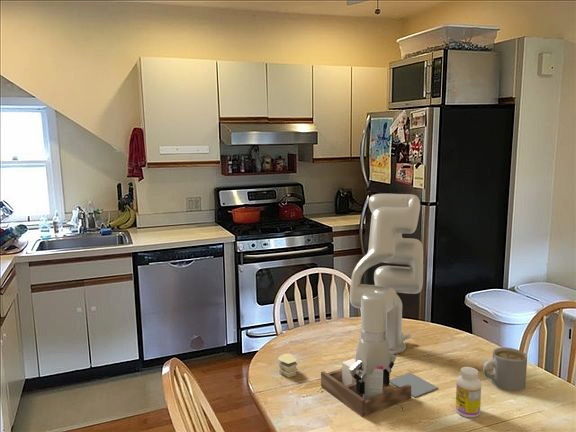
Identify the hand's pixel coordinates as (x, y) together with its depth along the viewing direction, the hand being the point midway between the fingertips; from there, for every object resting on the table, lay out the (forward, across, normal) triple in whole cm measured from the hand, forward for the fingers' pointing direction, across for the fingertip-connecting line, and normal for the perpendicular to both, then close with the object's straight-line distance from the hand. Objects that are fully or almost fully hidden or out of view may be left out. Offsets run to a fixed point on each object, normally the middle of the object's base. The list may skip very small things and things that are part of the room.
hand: (373, 388), depth 146 cm
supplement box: (+4, 0, 0) cm, 4 cm away
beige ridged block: (+4, +13, -29) cm, 32 cm away
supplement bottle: (+4, -18, +20) cm, 27 cm away
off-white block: (+4, 0, -10) cm, 10 cm away
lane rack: (+4, -2, -5) cm, 6 cm away
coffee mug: (+4, -42, +15) cm, 44 cm away
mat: (+4, -16, 0) cm, 17 cm away
